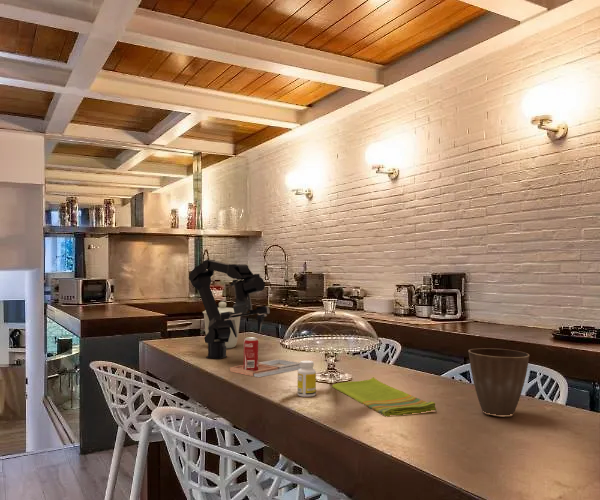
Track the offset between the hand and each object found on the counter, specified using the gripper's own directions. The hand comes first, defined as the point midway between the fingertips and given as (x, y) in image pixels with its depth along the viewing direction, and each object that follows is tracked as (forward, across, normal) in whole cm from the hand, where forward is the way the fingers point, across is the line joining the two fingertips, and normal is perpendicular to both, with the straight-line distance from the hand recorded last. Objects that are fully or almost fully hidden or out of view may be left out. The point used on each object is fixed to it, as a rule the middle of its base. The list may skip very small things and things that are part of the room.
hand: (247, 335), depth 213 cm
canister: (+3, -22, +39) cm, 45 cm away
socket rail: (+14, +9, -9) cm, 19 cm away
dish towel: (+26, +47, -46) cm, 71 cm away
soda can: (+13, +3, -15) cm, 20 cm away
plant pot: (+32, +77, -56) cm, 101 cm away
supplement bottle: (+21, +26, -46) cm, 57 cm away
